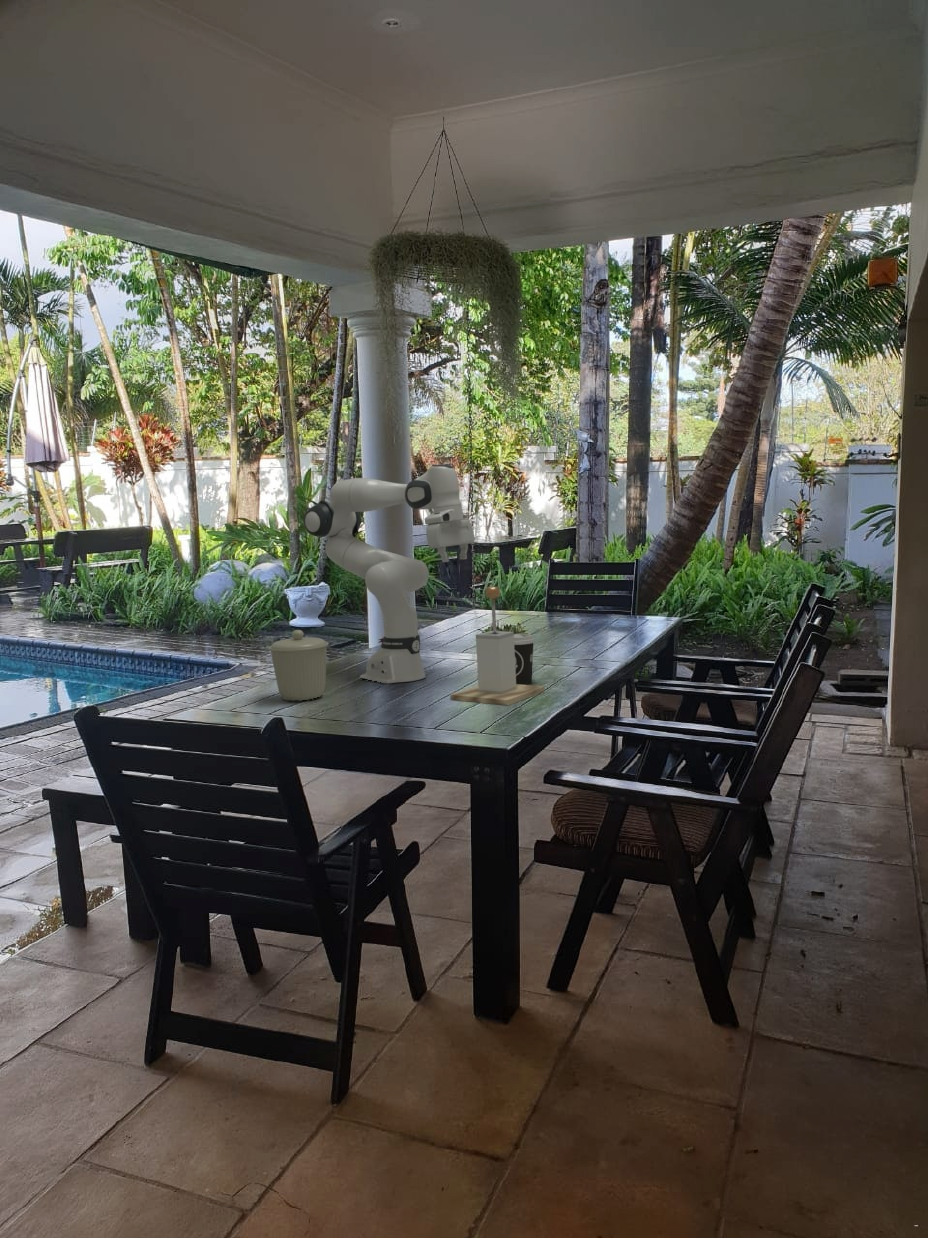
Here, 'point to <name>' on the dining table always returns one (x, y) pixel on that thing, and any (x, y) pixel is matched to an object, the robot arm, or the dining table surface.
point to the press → (496, 662)
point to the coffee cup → (523, 658)
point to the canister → (300, 666)
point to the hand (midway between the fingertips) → (454, 560)
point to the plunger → (493, 602)
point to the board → (497, 695)
